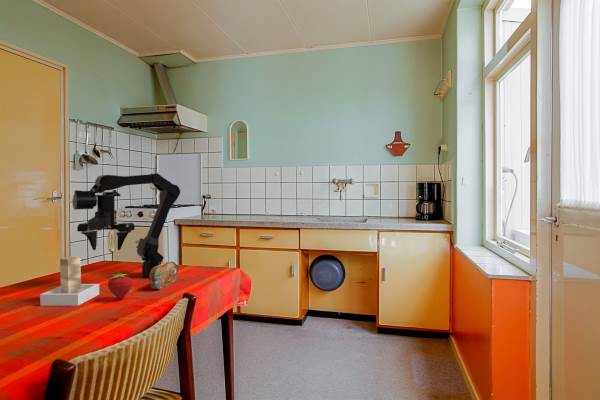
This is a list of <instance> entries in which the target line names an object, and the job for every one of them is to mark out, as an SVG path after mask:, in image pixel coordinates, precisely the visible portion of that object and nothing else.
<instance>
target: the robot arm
mask: <svg viewBox="0 0 600 400" xmlns="http://www.w3.org/2000/svg"><path fill="white" fill-rule="evenodd" d="M146 184H152V185H153V186H154V187H155V188H156V190H158V192H159V197H158V198H159V204H158V206H157V209H156V211H155V213H154V216H153V218H152V222H151V224H150V227H149V229H148V231H147V235H146V236H145V237H143V238H141V237H140V238H139V240H138V244H137V245H136V254H137V255H138V256H139V257H140V258H141V260H142V261H143V263H142V265H141V275H142V276H141V277H140V278H141V279H149V274H150V271H151V269H152V268H153V267H155V266H158V265H160V264H162V263H163V260H164V258H165V257H164V256H163V255H162V254H161V253H160V252H159V247H160V245H159V244H160V242H159V239H160V236H161V234H162V230H163V227H164V225H165V223H166V220H167V217H168V215H169V212H170V210H171V207H172V206H173V205H174V203H176V201H177V200H178V198H179V196H180V195H181V189H180V187H179V186H178V185H177V184H174V183H172V182H171V181H170V180H168V179H167V178H164V177H163V176H162V175H161V174H160V173H150V174H137V175H125V176H124V175H123V176H122V175H115V174H114V175H113V174H102V175H101V174H100V175H99V176H97V178H96V179H95V183H94V185H93V186H92V187H91V188H90V190H74V193H73V197H72V201H71V202H72V208H73V210H77V211H78V210H93V209H94V208H95V207H96V208H97V211H95V212H94V216H93V217H92V218H90V219H88V221H87V222H83V223H79V224H78V225H77V227H76V229H77V230H76V231H77V232H78V233H79V232H80V234H82V235H84V236H86V238H87V240H88V241H89V244H90V246H91V248H92V250H93V251H96V250H97V246H98V245H97V241H98V231H102V230H105V231H106V230H111V231H112V230H117V231H118V232H116V235H117V251H120V250H121V249H122V246H123V244H124V242H125V240H126V238H127V236H128V234H129V233H130V234H131V232H132V231H135V224H134V222H121V223H118V221H116V214H117V210H116V209H115V208H116V207H115V206H116V204H115V203H116V202H115V197H121V193H119V192H118V191H117V190H115V189H119V188H123V187H126V186H135V185H146Z"/></svg>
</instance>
